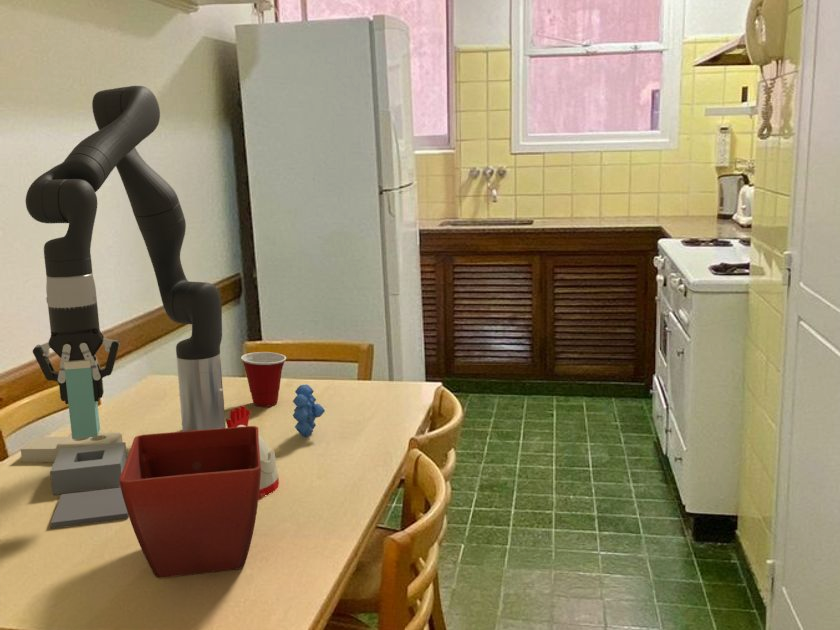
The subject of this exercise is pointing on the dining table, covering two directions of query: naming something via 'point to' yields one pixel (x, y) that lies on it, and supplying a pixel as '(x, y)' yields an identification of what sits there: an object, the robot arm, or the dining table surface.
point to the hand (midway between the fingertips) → (82, 401)
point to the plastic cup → (264, 376)
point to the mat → (89, 508)
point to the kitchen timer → (267, 457)
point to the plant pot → (193, 498)
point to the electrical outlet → (62, 446)
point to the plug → (81, 399)
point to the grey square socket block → (88, 468)
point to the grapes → (306, 410)
